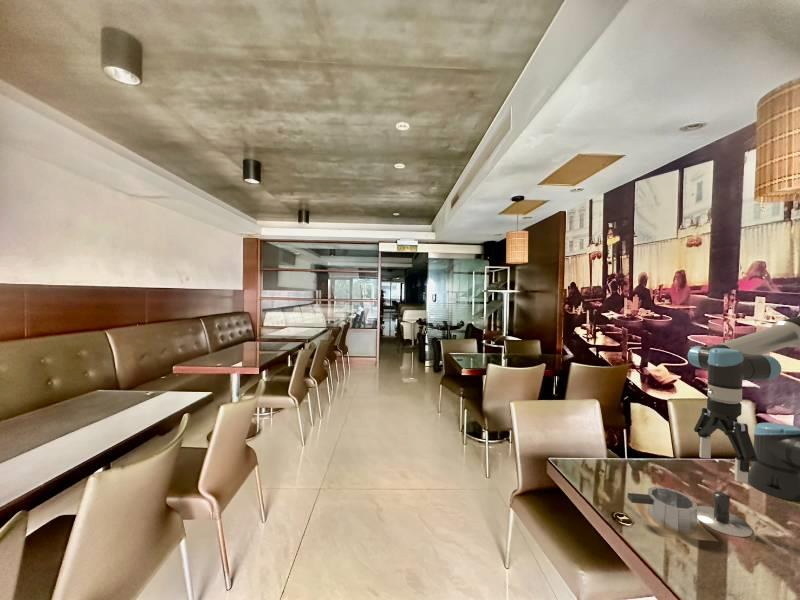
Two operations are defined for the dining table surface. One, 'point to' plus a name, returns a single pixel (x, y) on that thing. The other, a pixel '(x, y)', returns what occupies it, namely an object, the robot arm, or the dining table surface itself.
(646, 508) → the trivet
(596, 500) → the dining table surface
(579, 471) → the dining table surface
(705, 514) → the lid
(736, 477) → the robot arm
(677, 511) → the pot
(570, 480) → the dining table surface
